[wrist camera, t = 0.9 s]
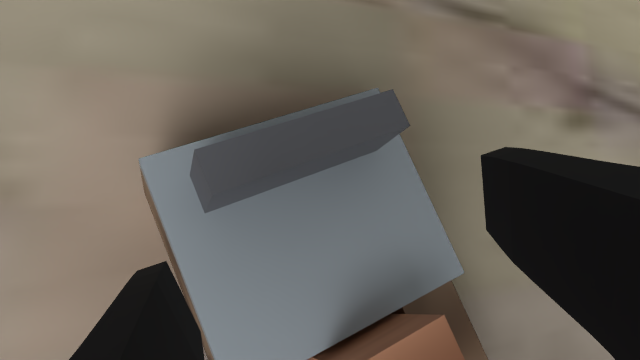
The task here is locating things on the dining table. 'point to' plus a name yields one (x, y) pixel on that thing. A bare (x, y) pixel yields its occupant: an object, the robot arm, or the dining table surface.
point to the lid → (300, 227)
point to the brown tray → (431, 303)
